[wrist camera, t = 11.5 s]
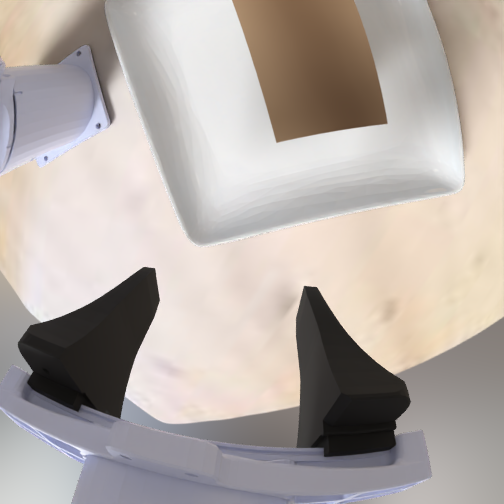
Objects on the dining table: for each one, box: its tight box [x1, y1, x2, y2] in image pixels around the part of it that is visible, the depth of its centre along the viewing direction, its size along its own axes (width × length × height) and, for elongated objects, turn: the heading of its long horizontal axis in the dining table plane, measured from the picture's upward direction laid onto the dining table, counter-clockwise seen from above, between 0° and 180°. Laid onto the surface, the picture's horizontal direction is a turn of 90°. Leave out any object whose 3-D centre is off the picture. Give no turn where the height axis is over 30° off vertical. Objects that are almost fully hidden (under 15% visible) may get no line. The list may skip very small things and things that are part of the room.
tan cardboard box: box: [232, 0, 388, 143], centre depth 10 cm, size 4×8×6 cm, turn 16°
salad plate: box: [104, 0, 465, 247], centre depth 14 cm, size 21×21×3 cm
